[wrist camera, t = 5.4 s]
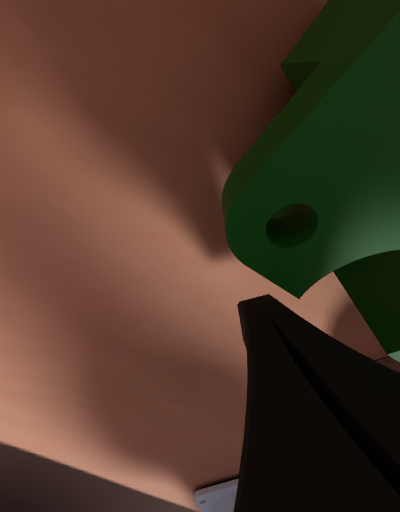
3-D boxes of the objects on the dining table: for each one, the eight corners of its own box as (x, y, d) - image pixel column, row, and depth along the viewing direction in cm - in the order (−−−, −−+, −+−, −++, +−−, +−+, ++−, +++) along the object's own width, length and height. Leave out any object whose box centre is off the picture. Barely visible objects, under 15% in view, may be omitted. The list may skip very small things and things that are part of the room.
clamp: (229, 164, 14) (142, 183, 6) (322, 49, 11) (411, -251, 3) (391, 314, 14) (529, 539, 6) (526, 241, 11) (1184, 492, 3)
